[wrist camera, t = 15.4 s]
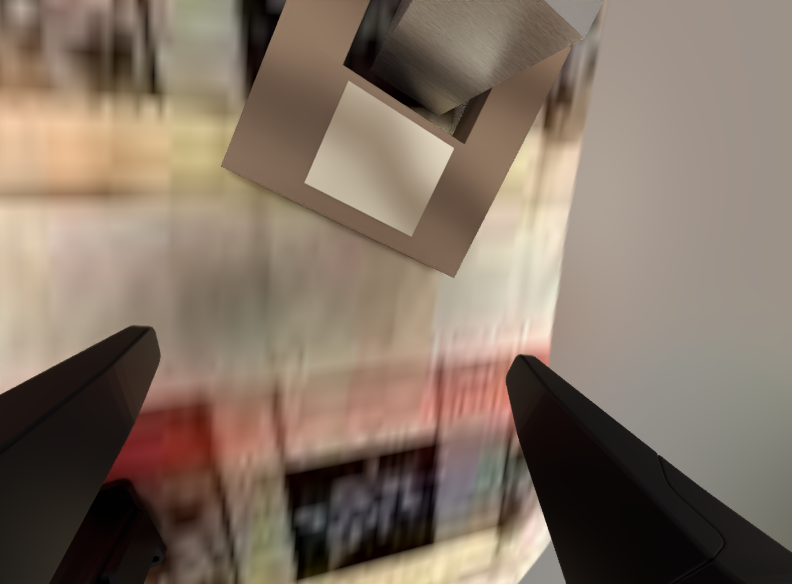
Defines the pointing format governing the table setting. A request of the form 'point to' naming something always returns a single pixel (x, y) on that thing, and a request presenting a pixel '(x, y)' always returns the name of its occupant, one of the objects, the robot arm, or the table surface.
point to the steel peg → (474, 44)
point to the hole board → (377, 139)
